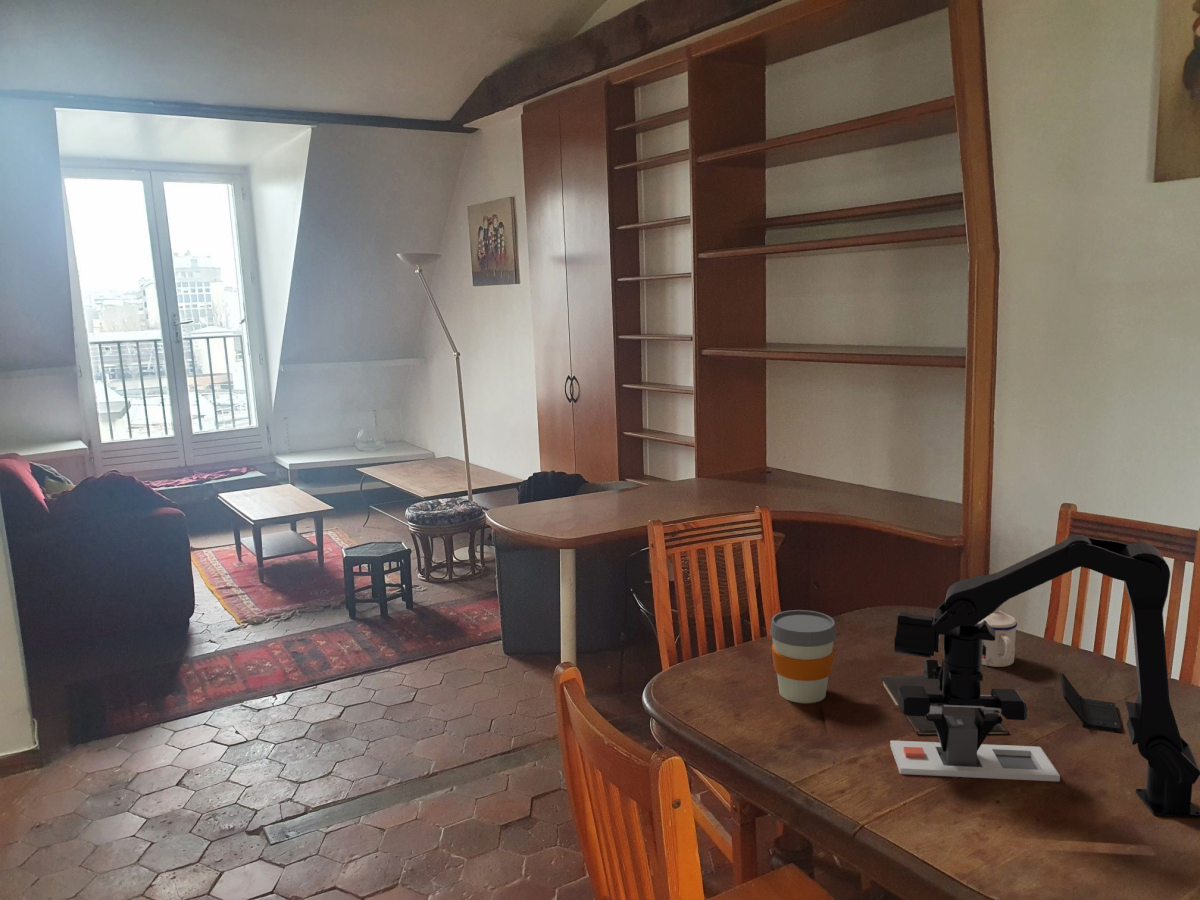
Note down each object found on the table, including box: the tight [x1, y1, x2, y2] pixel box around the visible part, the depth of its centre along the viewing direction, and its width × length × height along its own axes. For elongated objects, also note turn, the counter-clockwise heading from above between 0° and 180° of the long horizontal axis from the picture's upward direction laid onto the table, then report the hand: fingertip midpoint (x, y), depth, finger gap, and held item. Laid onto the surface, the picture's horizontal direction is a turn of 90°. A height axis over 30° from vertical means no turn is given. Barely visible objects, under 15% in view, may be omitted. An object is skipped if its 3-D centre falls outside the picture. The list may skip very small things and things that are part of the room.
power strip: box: [832, 740, 1061, 783], centre depth 142 cm, size 9×34×3 cm, turn 81°
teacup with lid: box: [977, 607, 1018, 668], centre depth 181 cm, size 12×9×12 cm
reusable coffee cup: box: [769, 609, 837, 704], centre depth 170 cm, size 13×13×15 cm
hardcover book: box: [880, 674, 1010, 735], centre depth 162 cm, size 16×23×2 cm
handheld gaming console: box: [1060, 672, 1122, 733], centre depth 158 cm, size 12×7×10 cm
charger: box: [941, 715, 978, 767], centre depth 141 cm, size 4×4×7 cm
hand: (958, 750), depth 142 cm, fingers closed on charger, 4 cm apart
